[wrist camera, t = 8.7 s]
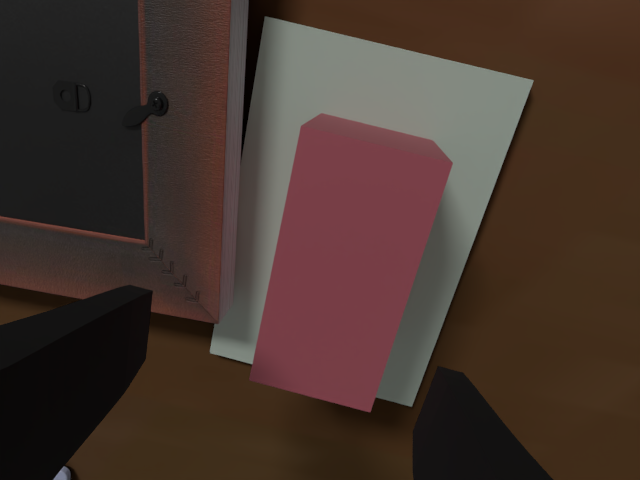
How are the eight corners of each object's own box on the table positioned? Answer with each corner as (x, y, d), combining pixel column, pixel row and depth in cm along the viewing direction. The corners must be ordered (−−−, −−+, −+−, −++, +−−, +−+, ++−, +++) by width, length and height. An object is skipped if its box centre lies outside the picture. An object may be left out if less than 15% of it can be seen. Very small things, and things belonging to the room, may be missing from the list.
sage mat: (410, 398, 22) (412, 407, 22) (213, 346, 22) (209, 352, 22) (528, 80, 17) (533, 80, 16) (268, 18, 17) (264, 16, 17)
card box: (321, 112, 18) (301, 125, 13) (432, 139, 17) (453, 162, 13) (278, 312, 21) (249, 380, 16) (372, 336, 21) (370, 412, 16)
